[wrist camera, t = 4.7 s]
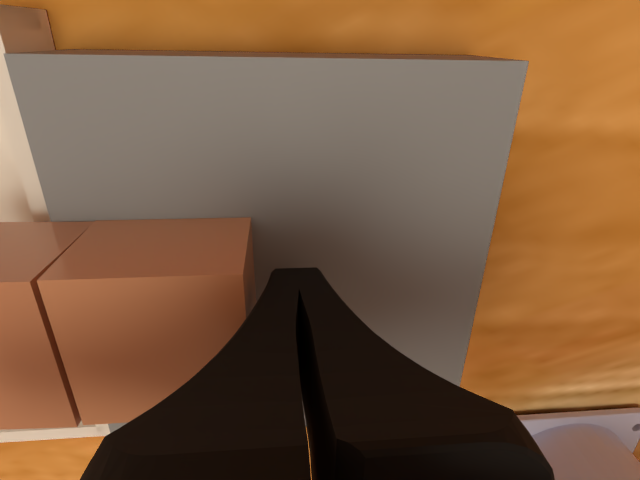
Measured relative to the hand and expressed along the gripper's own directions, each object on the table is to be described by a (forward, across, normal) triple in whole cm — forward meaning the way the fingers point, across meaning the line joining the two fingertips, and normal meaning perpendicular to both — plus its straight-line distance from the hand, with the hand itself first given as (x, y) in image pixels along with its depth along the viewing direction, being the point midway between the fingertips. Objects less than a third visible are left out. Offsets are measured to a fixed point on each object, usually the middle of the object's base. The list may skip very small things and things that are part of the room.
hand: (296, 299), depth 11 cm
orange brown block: (+1, +3, 0) cm, 3 cm away
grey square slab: (+4, 0, 0) cm, 5 cm away
